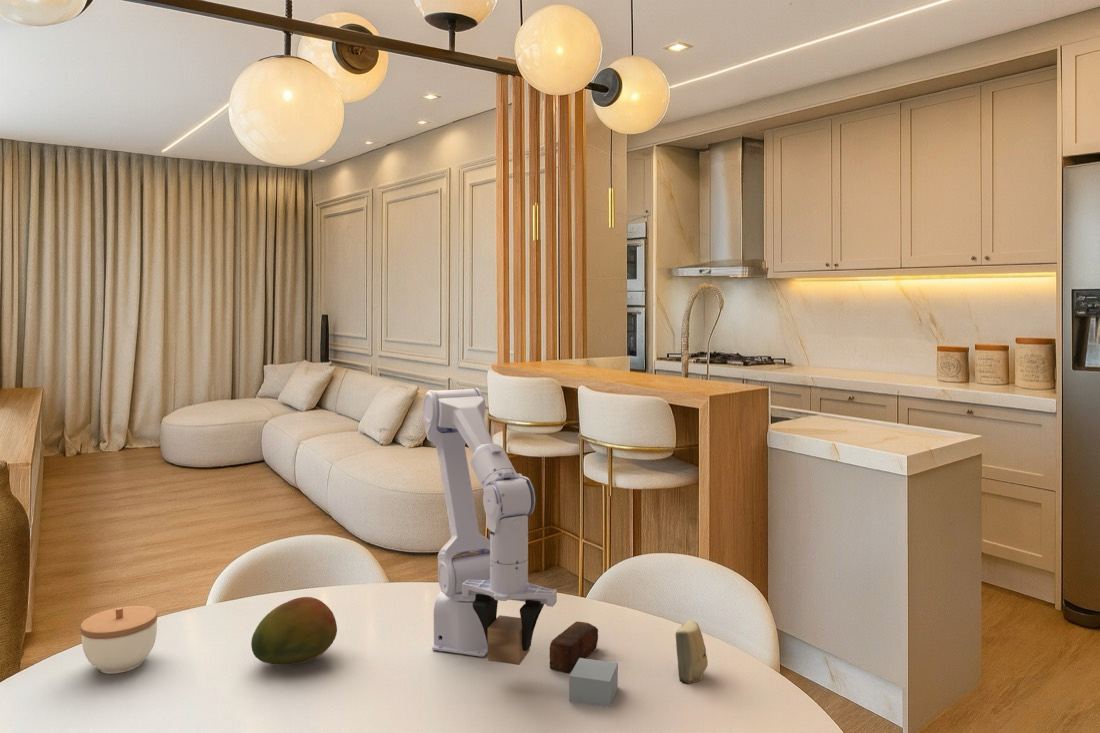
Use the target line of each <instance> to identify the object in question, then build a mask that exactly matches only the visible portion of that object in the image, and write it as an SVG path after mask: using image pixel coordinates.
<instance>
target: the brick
mask: <svg viewBox="0 0 1100 733" xmlns="http://www.w3.org/2000/svg"><path fill="white" fill-rule="evenodd" d="M598 642H599V629H598V628H597V626H596V625H593V624H591V623H589V622H584V621H575V622H573V623H572V624H571V625H569V627H567V628H566V629H565V630H563V632H561V633H560V634H558V635H557V636H556V637H554V638H553V639H552V640H551V641H550V645H549V668H550V670H555V671H559V672H562V673H567V674H571V672H572V670H573V668H574V667H575V665H576V663H577V661H578V660H579V658H584V659H588V658H589V657H590V656H591V655H592V654H593V653H594V652H595V651H596V650H597V646H598Z"/></svg>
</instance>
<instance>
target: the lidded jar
mask: <svg viewBox="0 0 1100 733" xmlns="http://www.w3.org/2000/svg"><path fill="white" fill-rule="evenodd" d="M79 627H80V630H79V631H80V634H81V644H82V649H83V653H84V655H85V657H86V659H87V661H88V662H89V663H90V664H91V666H93V667H95V668H96V669H98V670H99V672H101V673H103V674H107V675H113V674H114V675H116V674H122V673H125V672H129V671H132V670H134V669H136V668H139V667H140V666H141V665H142V664H143V663H144V660H145V659H146V658H147V657H148V656H149V655H150V653H151V652H152V650H153V649H154V645H155V642H156V640H157V631H158V611H157V610H156V609H155V608H153V607H151V606H146V605H126V606H119V607H114V608H111V609H106V610H103V611H100V612H97V613H95V614H93V615H90V616H89V617H87V618H86V619H84V620H83V621H82V623H81V624H80V625H79Z"/></svg>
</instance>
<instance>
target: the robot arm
mask: <svg viewBox="0 0 1100 733" xmlns="http://www.w3.org/2000/svg"><path fill="white" fill-rule="evenodd" d="M421 412H422V418H423V424H424V432H425V434H426V439H427V440H428V441H429V442H431V443H433V444H434V445H435V446H436V452H437V456H438V463H439V469H440V474H441V476H440V477H441V482H442V488H443V494H444V501H445V506H446V507H445V508H446V512H447V519H448V525H449V533H450V539H449V540H448V541H447V542H446V543H445V544H444V545H443V546H442V547H441V549H440V550H439V552H438V554H437V563H438V564H437V567H438V568H437V579H438V585H439V588H440V590H441V591H440V592H439V593H438V594H437V597H436V598H435V602H434V606H433V645H432V646H431V649H432V650H433V651H437V652H438V651H439V652H444V653H446V652H447V653H451V654H452V653H453V654H460V655H468V656H472V657H473V656H474V657H481V658H482V657H485V656H486V655H488V627H489V626H490V625H491V624H492V623H493V622H494V621H495V619H496V618H497V617H498V616H497V614H498V612H497V611H498V603H499V601H501V602H502V601H503V602H507V601H509V600H510V601H514V602H515V601H517V602H523V603H524V604H523V605H522V606H521V607H520V608H519V615H520V618H521V622H522V650H523V651H527V650H528V649H529V648H530V649H531V647H532V639H533V634H534V630H535V627H536V624H537V621H538V619H539V617H540V614H541V612H542V610H543V608H544V607H545V605H546V607H551V608H553V607H554V606H555V605H556V604H557V601H558V599H557V593H558V589H554V588H553V589H552V588H548V587H543V586H540V585H537V584H535V583H534V584H533V583H530V582H529V580H528V579H529V577H528V576H529V571H528V570H529V546H528V545H529V517H528V516H530V515H533V513H534V510H535V506H536V495H535V494H536V493H535V488H534V486H533V483H532V482H531V479H530V478H529V477H528V476H523V474H522V473H517V471H516V470H515V468H514V466H513V464H512V462H511V460H510V459H509V457H508V454H507V453H506V451H505V449H504V447H502V446H501V445H500V444H495V443H494V442H493V439H492V437H491V434H490V431H489V430H488V427H487V424H486V421H485V415H486V399H485V396H484V394H483V392H482V391H481V389H480V388H478V387H473V388H465V389H464V388H462V389H460V388H459V389H447V390H446V389H443V390H440V389H439V390H434V389H430V390H429V389H428V391H427V392H426V393H425V395H424V397H423V402H422V410H421ZM466 445H467V446H468V448H469V450H470V451H471V453H472V456H471V458H470V465H471V468H472V470H473V472H474V473H475V476H476V478H477V480H478V483H479V485H480V487H481V488H482V490H483V496H482V502H483V509H484V512H485V517H486V518H485V521H486V522H485V523H486V528H487V529H488V530H489V538H488V537H486V536H484V535H483V534H481V532H480V529H479V528H480V527H479V524H478V523H479V522H478V518H477V510H476V505H475V500H474V492H473V488H472V486H473V485H472V482H471V475H470V471H469V470H470V469H469V464H468V457H467V453H466V452H467V450H466ZM473 553H475V554H473ZM467 554H469V555H467ZM461 555H463V556H461ZM454 556H456V557H454Z"/></svg>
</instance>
